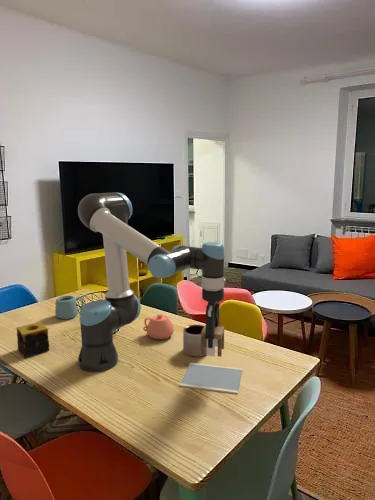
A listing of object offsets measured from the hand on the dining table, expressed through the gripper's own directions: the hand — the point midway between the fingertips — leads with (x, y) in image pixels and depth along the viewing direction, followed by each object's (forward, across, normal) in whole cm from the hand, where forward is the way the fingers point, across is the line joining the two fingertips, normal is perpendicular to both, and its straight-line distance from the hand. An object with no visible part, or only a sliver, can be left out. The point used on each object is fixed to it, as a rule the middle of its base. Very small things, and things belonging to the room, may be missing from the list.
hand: (212, 350), depth 133 cm
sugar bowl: (+11, +30, +30) cm, 44 cm away
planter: (+11, +19, +10) cm, 24 cm away
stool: (0, 0, 0) cm, 0 cm away
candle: (+10, +4, +76) cm, 77 cm away
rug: (+11, 0, 0) cm, 11 cm away
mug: (+10, +43, +82) cm, 93 cm away
